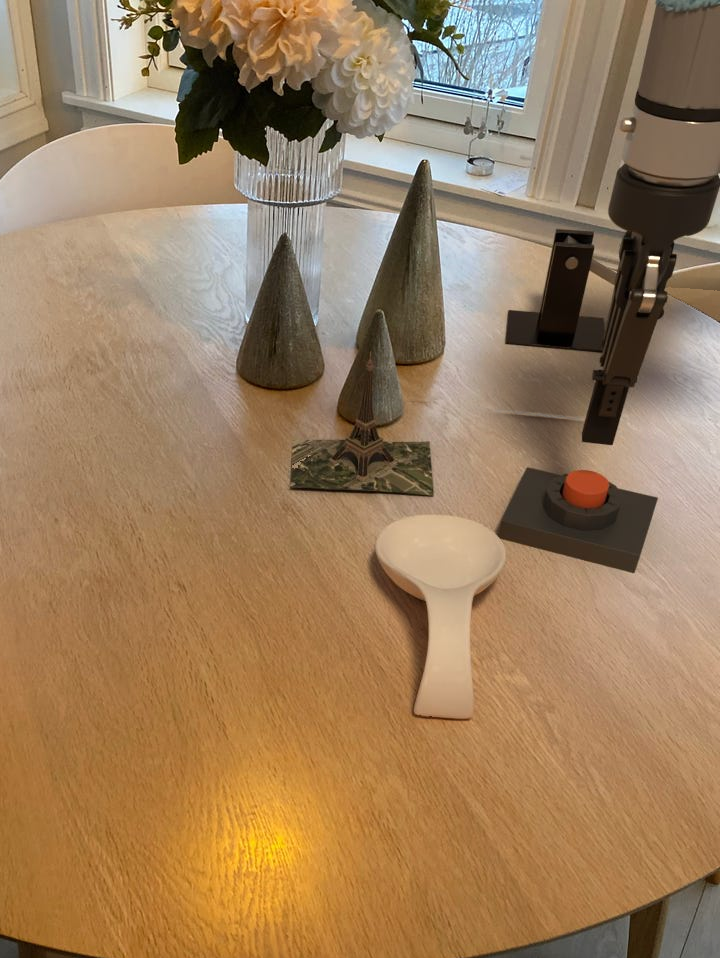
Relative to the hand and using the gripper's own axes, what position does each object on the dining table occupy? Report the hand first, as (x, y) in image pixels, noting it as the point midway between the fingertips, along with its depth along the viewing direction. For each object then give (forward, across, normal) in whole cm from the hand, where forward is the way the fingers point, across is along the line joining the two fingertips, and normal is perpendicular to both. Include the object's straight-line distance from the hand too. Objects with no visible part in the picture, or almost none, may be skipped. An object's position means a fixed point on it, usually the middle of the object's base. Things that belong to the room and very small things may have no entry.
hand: (597, 439), depth 91 cm
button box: (+10, 0, 0) cm, 10 cm away
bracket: (+10, -40, -2) cm, 41 cm away
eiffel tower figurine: (+10, -6, -22) cm, 25 cm away
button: (+6, 0, 0) cm, 6 cm away
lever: (+3, -39, +2) cm, 40 cm away
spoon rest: (+10, +17, -12) cm, 23 cm away
